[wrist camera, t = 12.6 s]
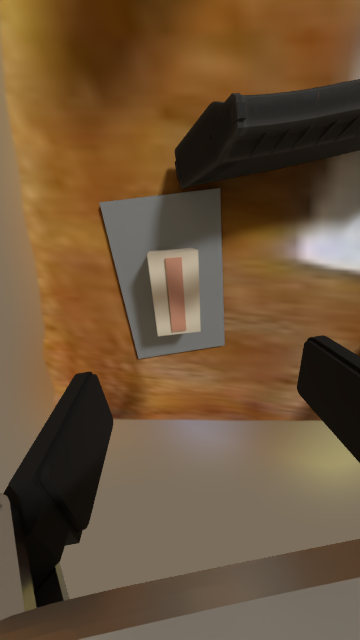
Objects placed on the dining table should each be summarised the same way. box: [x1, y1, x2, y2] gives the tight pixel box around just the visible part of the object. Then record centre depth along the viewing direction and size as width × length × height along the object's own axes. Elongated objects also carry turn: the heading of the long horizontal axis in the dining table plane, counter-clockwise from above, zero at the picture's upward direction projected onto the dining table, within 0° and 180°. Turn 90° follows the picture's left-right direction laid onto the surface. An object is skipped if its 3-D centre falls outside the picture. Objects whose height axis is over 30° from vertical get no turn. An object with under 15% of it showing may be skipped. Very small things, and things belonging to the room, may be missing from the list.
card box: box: [147, 248, 201, 336], centre depth 23 cm, size 9×5×5 cm, turn 4°
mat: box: [100, 188, 225, 359], centre depth 25 cm, size 13×20×1 cm, turn 7°
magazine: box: [175, 79, 360, 189], centre depth 16 cm, size 17×3×30 cm
